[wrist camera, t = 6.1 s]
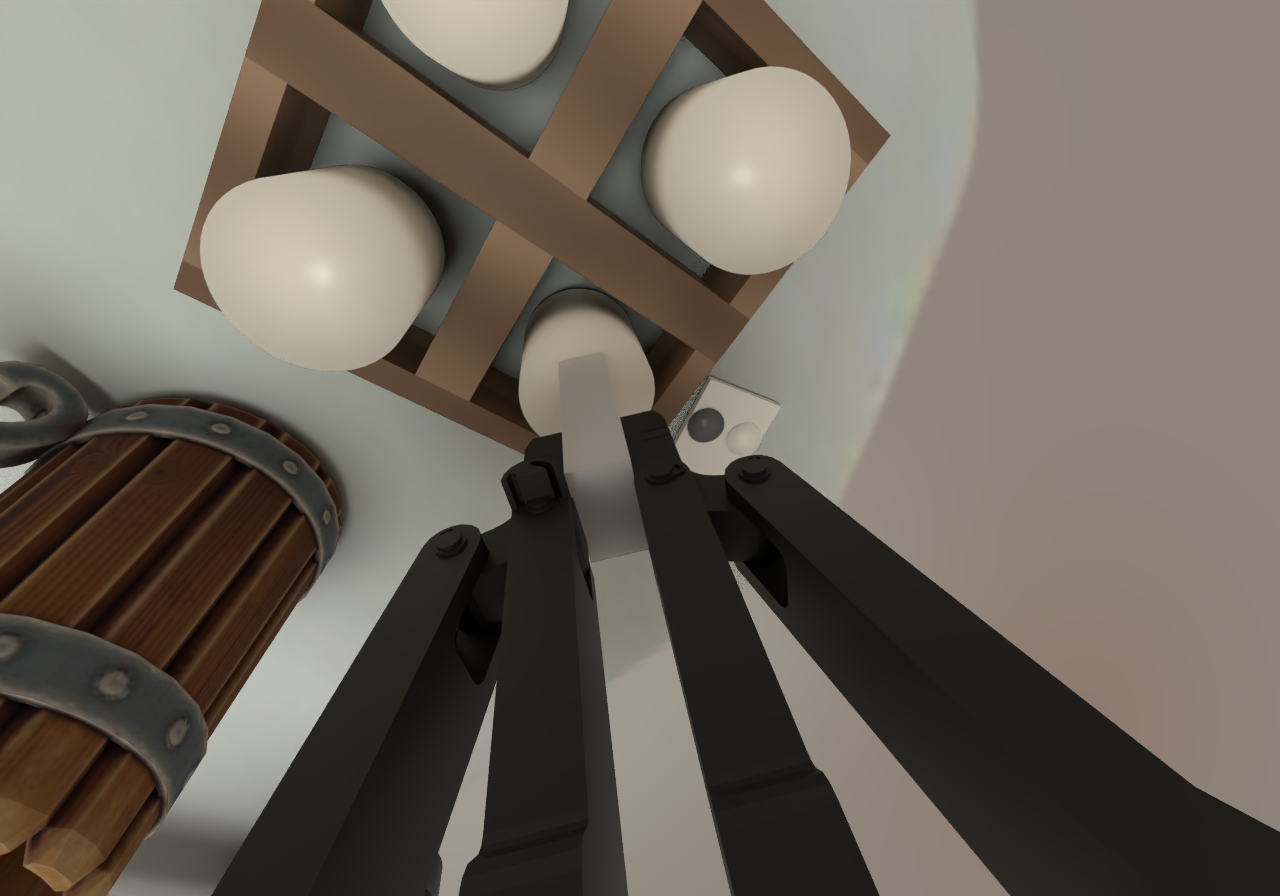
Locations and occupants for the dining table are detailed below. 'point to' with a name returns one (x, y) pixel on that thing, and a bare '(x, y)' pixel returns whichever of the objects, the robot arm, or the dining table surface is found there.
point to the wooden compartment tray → (512, 184)
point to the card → (723, 427)
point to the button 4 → (748, 168)
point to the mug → (133, 609)
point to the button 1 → (322, 263)
